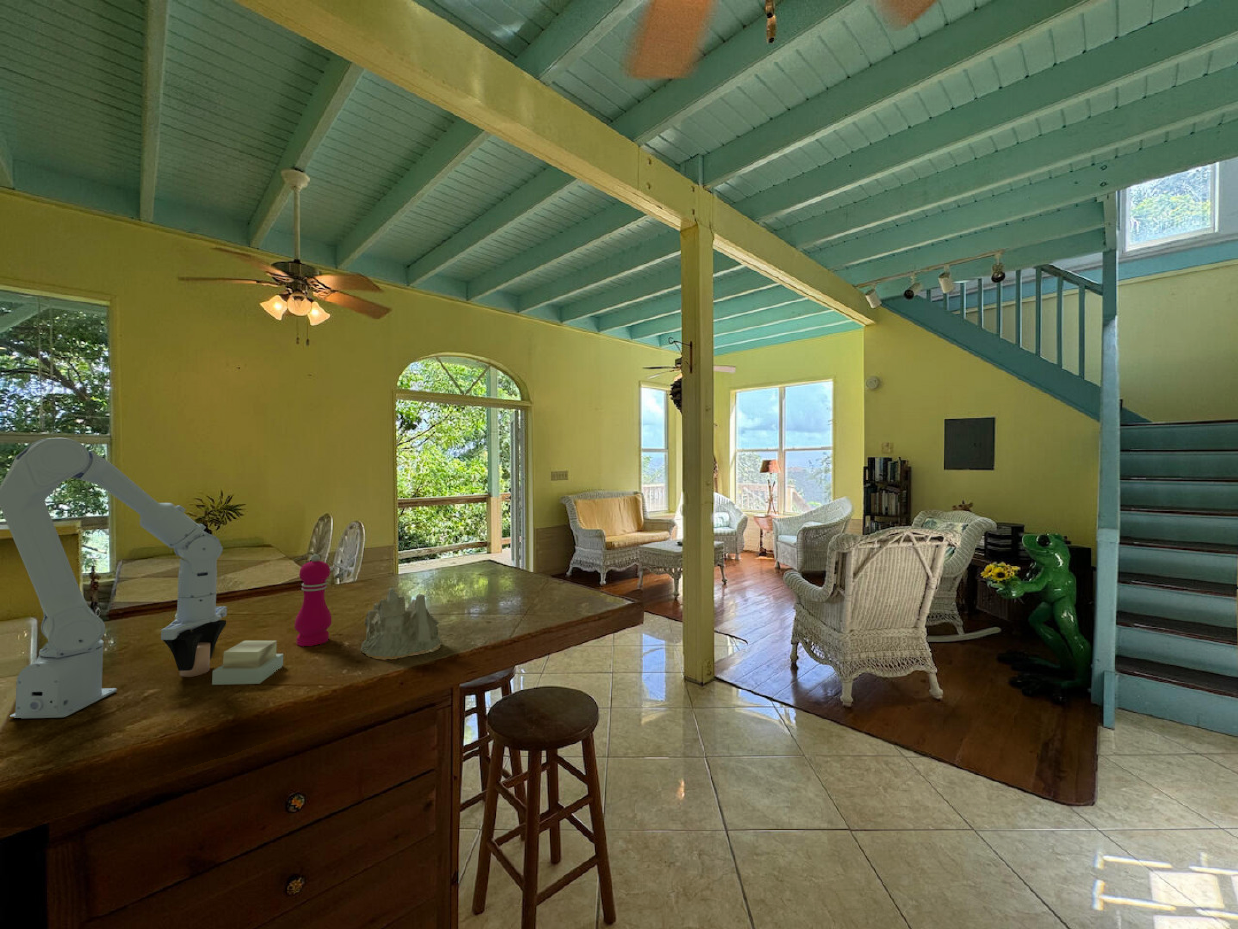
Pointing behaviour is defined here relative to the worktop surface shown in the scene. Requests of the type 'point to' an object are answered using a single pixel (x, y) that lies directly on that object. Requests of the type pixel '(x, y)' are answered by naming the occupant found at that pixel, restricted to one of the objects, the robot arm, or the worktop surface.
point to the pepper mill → (313, 604)
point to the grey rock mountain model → (399, 627)
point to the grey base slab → (247, 673)
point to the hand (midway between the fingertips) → (195, 664)
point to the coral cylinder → (199, 661)
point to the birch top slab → (249, 654)
